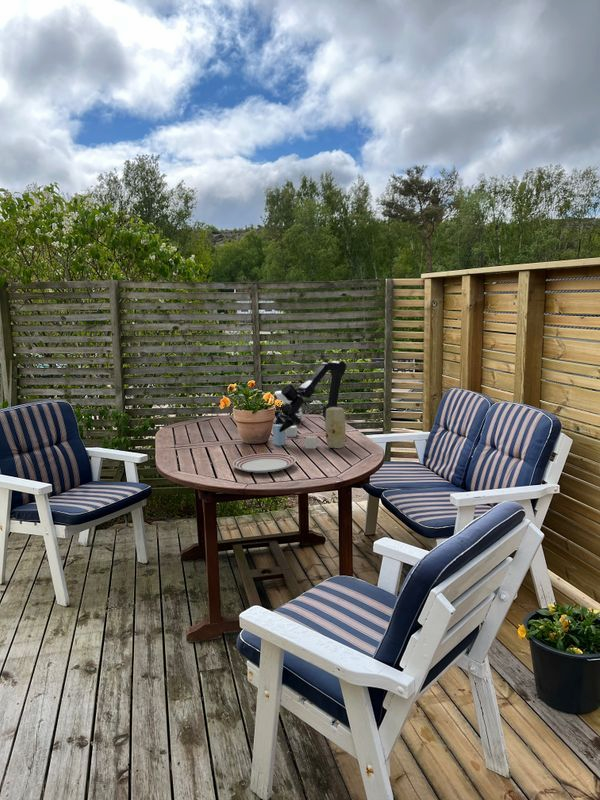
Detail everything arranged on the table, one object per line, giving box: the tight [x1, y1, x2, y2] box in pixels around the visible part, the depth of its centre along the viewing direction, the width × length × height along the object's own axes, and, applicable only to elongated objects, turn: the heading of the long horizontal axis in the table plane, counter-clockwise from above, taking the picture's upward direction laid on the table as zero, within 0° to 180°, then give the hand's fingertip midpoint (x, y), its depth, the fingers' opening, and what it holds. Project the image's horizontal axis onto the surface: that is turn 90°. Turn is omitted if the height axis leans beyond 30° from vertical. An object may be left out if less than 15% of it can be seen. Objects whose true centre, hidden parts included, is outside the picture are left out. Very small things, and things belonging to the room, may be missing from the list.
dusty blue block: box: [272, 424, 287, 447], centre depth 295 cm, size 4×4×10 cm
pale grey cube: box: [286, 425, 298, 438], centre depth 315 cm, size 5×5×5 cm
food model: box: [324, 406, 346, 449], centre depth 285 cm, size 10×7×20 cm
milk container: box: [273, 390, 303, 421], centre depth 351 cm, size 17×17×18 cm
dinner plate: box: [232, 452, 297, 474], centre depth 255 cm, size 28×27×3 cm
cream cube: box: [305, 435, 318, 449], centre depth 288 cm, size 5×5×5 cm
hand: (276, 430), depth 294 cm, fingers closed on dusty blue block, 4 cm apart
